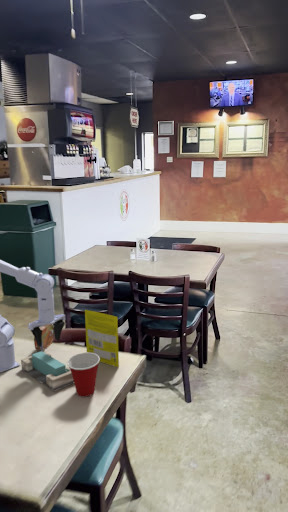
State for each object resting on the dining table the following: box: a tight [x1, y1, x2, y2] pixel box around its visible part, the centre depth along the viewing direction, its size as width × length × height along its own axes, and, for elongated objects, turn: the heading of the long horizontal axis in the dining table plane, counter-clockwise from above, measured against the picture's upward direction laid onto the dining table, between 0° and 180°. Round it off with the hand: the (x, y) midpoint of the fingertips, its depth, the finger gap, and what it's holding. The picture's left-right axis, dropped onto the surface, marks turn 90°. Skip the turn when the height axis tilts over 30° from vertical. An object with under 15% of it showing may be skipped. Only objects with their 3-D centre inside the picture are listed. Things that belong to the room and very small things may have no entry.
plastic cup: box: [66, 351, 100, 398], centre depth 145 cm, size 11×11×12 cm
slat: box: [31, 351, 67, 377], centre depth 157 cm, size 16×4×5 cm, turn 44°
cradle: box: [20, 350, 74, 392], centre depth 158 cm, size 22×10×4 cm, turn 43°
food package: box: [84, 309, 120, 368], centre depth 165 cm, size 15×1×20 cm, turn 58°
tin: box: [33, 324, 55, 352], centre depth 182 cm, size 15×3×8 cm, turn 168°
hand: (48, 342), depth 163 cm, fingers open, 7 cm apart
